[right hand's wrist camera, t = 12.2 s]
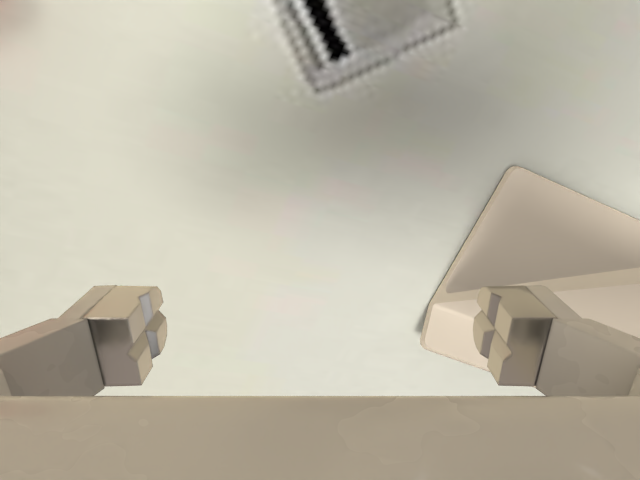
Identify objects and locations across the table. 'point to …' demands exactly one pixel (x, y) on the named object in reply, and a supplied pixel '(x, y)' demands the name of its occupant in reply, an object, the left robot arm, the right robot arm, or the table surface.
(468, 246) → the tablet stand
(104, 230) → the table surface
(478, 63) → the table surface
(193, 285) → the table surface
